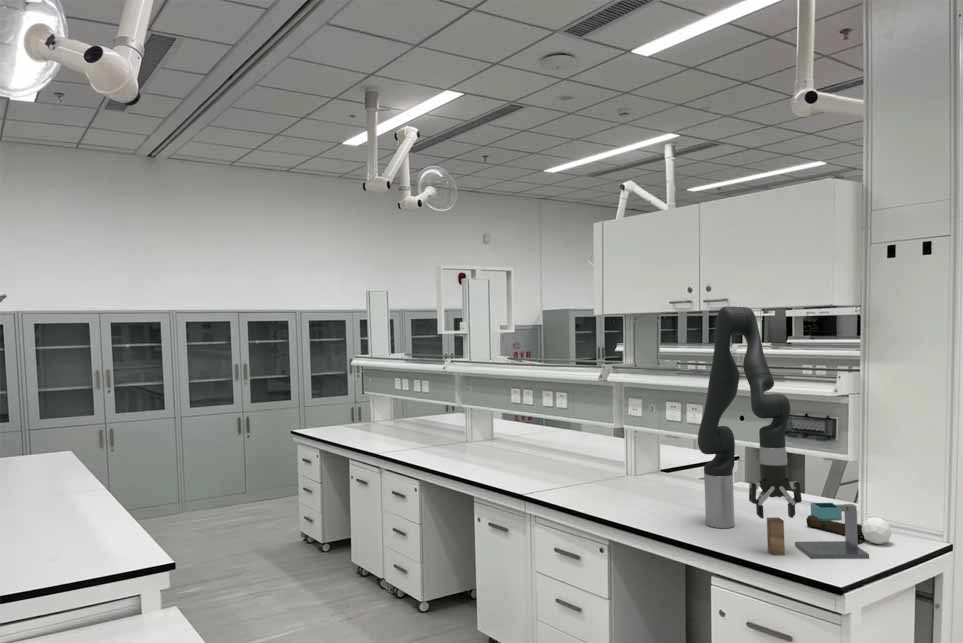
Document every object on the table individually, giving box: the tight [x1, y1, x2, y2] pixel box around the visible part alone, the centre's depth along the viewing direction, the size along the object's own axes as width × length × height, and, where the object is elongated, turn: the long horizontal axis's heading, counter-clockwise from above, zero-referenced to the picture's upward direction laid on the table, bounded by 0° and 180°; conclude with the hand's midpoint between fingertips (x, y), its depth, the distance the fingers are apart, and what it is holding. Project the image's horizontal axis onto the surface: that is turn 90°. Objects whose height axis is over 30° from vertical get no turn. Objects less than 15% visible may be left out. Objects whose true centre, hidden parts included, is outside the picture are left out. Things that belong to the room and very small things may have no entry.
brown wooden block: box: [766, 516, 786, 556], centre depth 201 cm, size 4×4×10 cm
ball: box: [862, 516, 892, 545], centre depth 208 cm, size 8×8×8 cm
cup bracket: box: [794, 502, 870, 560], centre depth 201 cm, size 12×16×14 cm
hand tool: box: [805, 514, 867, 540], centre depth 219 cm, size 19×4×5 cm, turn 28°
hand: (775, 517), depth 201 cm, fingers open, 8 cm apart
